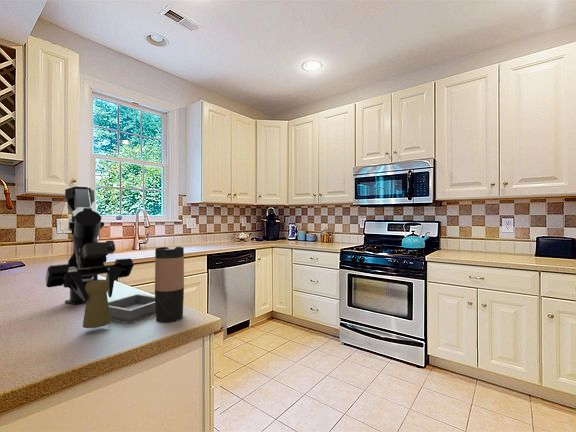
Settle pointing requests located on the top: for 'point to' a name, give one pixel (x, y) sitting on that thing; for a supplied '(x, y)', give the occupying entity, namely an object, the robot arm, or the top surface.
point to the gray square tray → (132, 308)
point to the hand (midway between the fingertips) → (98, 298)
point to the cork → (96, 304)
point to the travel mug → (169, 284)
